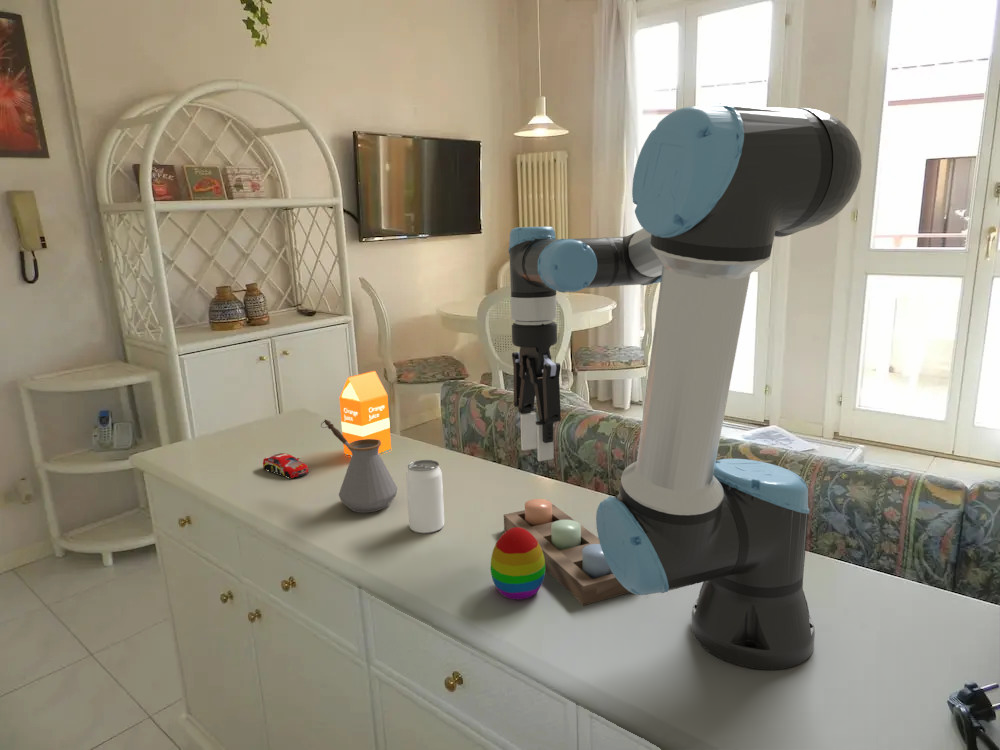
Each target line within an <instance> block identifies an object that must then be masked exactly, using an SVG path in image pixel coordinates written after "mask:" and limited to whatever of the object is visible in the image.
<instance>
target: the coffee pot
mask: <svg viewBox="0 0 1000 750" xmlns="http://www.w3.org/2000/svg"><path fill="white" fill-rule="evenodd" d="M323 424H325V425H326V426H323ZM320 427H321V428H322V429H326V428H328V429H329V430H331V432H332V434H333V435H334V436H335V437H336V438H337V439H338V440H339V441H340V442H341V443H343V444H345V445H346V446H347V447H348V449H349V450H350V451H351V452H352V457H350V461H349V464H348V466H347V469H346V471H345V472H346V473H345V475H344V477H343V480H342V484H341V486H340V490H339V493H338V496H339V499H340V501H341V502H342V504H344V505H345V506H346V507H347V508H349V509H350V510H351V511H353V512H356V513H372V512H377V511H380V510H383V509H385V508H387V507H388V506H389V504H390V503H392V501H393V500H394V499H395V497H396V495H397V492H398V486H397V485H396V482H395V481H394V479H393V477H392V475H391V474H390V471H389V470H388V467H387V466H386V464H385V462H384V460H383V459H382V457H381V455H379V453H378V450H379V446H380V445H381V441H380V440H377V439H362V440H357V441H353V442H351V443H350V444H349V443H348V441H347V440H346V439H345V438H344V436H343V433H341V431H340V430H339V429H337V428H336V427H335V426H334V423H331V420H328V419H324V420H323V421H322V422H321V423H320Z"/></svg>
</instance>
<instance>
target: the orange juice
mask: <svg viewBox="0 0 1000 750" xmlns="http://www.w3.org/2000/svg"><path fill="white" fill-rule="evenodd" d="M339 408H340V410H339V411H340V419H341V422H340V423H341V432H342V433H341V434H342V435H343V436H344V438H345V439H346V440H347V441H348V443H349V444H350V443H351V442H353V441H357V440H362V439H377V440H380V441H381V445H380V446H379V450H378V453H381V452H384V451H386V450H389V449H391V450H392V444H391V443H392V440H391V426H390V425H391V422H390V412H389V410H390V409H389V398H388V393H387V391H386V389H385V387H384V385H383V383H382V382H381V380H380V378H379V375H378V374H377V372H376V370H372V371H368V372H364V373H360V374H356V375H351V376H348V377H347V379H346V381H345V383H344V385H343V389H342V391H341V393H340V396H339ZM344 453H345V454H348V455H352V452H351V451H350V450H349V449H348V447H347V446H346V445H345V444H343V454H344Z"/></svg>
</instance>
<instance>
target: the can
mask: <svg viewBox="0 0 1000 750" xmlns="http://www.w3.org/2000/svg"><path fill="white" fill-rule="evenodd" d="M439 465H440V463H439V462H438V461H437V460H432V459H420V460H415V461H412V462H410V463H409V464H408V465H407V468H408V469H407V471H406V474H405V475H406V476H405V477H406V479H405V480H406V481H405V482H406V494H407V495H406V496H407V497H406V498H407V499H406V500H407V510H408V513H407V514H408V524H409V525H408V526H409V528H410V529H411V530H412V532H413V533H417V534H422V533H423V534H424V533H427V534H432V533H436V532H438V530H439V531H440V530H442V528H443V527H444V526H445V509H444V488H443V473H442V470H441V468H440V466H439Z"/></svg>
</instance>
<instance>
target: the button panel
mask: <svg viewBox="0 0 1000 750" xmlns="http://www.w3.org/2000/svg"><path fill="white" fill-rule="evenodd" d="M558 520H573V521H576V519H573V518H572V517H571V516H569V515H568V514H567V513H565V512H564V511H563V510H562V509H560V508H559V507H557V506H556V505H555V504H553V503H552V522H550V523H545V524H541V525H537V526H532V527H531V526H530V525H529V524H528V523H527V522H525V509H524V510H520V511H515V512H510V513H506V514H503V530H504V531H505V532H506V531H507V530H509V529H511V528H515V527H520V528H523V529H525V530H527V531H528V532H530V533H531V534H532V535H533V536H534V537H535V539H536V540H537V541H538V543H539V545H540V547H541V549H542V552H543V555H544V559H545V571H546V572H547V573H549V574H550V576H552V577H553V578H554V579H555V580H556V581H557V582H558V583H559V584H560V585H561V586H562V587H563V588H564V589H565V590H567V591H568V592H569V593H570V594H571V595H572V596H573V597H574V598H575V599H576V600H577V601H578V602H579V603H580V604H581V605H582V606H586V605H589V604H594V603H596V602H600V601H604V600H607V599H611V598H614V597H618V596H620V595H621V596H622V595H626V594H629V593H631V592H630V591H628V590H627V589H625V588H624V587H623V586H622V585H621V584H620V582H619V581H618V580H617V579H616V577H615V576H614V574H609V575H605V576H602V577H598V578H594V579H592V578H590V577H589V576H588V575H587V574H586V573H585V572H583V567H582V550H583V548H584V547H585V546H587V545H591V544H600V542H599V538H598V536H596V535H595V534H593V532H591V531H590V530H588V529H587V528H586V527H584V526H583V525H581V545H580V546H576V547H572V548H568V549H564V550H560V551H559V550H558V549H557V548H556V547H554V546H553V545H552V540H551V525H552V523H553V522H555V521H558Z"/></svg>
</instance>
